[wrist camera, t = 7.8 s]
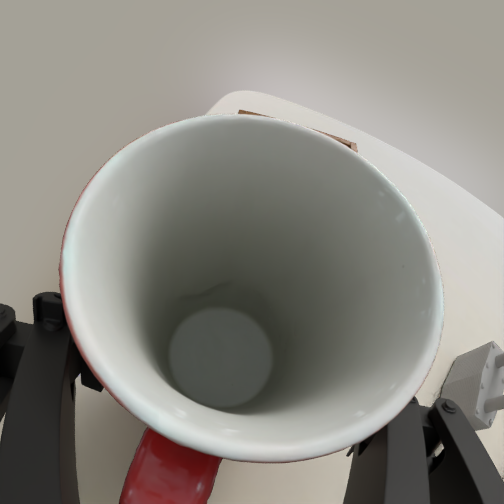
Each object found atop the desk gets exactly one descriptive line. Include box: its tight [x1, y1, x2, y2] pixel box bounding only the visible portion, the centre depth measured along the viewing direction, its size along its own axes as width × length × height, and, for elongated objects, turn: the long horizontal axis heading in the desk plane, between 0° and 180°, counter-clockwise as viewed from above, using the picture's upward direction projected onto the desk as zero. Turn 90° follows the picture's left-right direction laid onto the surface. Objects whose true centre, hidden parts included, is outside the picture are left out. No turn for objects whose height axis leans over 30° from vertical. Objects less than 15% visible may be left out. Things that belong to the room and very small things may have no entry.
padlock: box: [440, 341, 504, 431], centre depth 15 cm, size 7×4×10 cm, turn 143°
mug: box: [59, 114, 444, 504], centre depth 11 cm, size 13×9×14 cm
